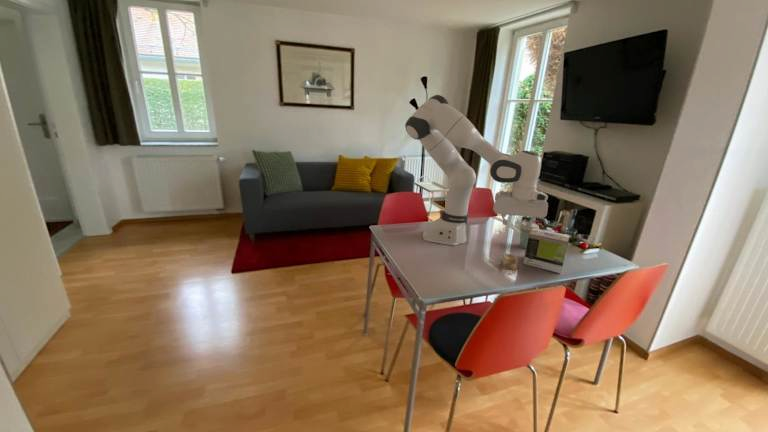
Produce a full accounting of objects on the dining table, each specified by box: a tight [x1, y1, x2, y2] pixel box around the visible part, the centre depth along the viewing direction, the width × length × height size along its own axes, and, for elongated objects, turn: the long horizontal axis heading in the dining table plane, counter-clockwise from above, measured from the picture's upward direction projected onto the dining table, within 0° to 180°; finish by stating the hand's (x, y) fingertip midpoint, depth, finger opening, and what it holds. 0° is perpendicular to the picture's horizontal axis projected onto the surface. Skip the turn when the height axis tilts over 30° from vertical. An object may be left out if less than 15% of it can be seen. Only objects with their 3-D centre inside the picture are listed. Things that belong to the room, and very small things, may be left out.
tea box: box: [523, 228, 570, 274], centre depth 138 cm, size 15×10×15 cm, turn 58°
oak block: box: [500, 253, 519, 271], centre depth 136 cm, size 5×5×5 cm
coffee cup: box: [519, 221, 540, 250], centre depth 157 cm, size 9×8×12 cm
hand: (516, 225), depth 131 cm, fingers open, 8 cm apart
